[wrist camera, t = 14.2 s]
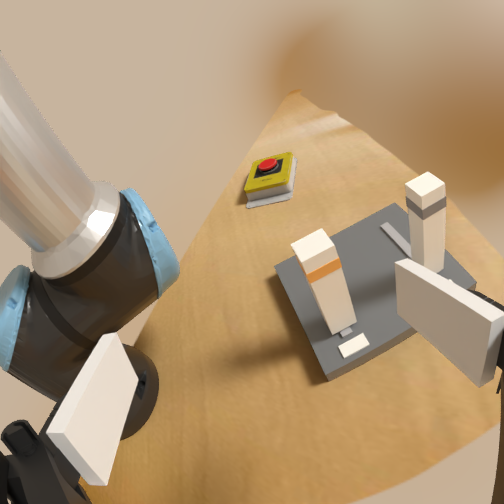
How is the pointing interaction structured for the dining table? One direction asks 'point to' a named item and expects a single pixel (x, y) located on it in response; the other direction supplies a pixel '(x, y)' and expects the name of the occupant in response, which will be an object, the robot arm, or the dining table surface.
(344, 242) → the panel
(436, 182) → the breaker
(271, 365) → the dining table surface
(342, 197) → the dining table surface
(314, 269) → the block
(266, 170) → the emergency button
